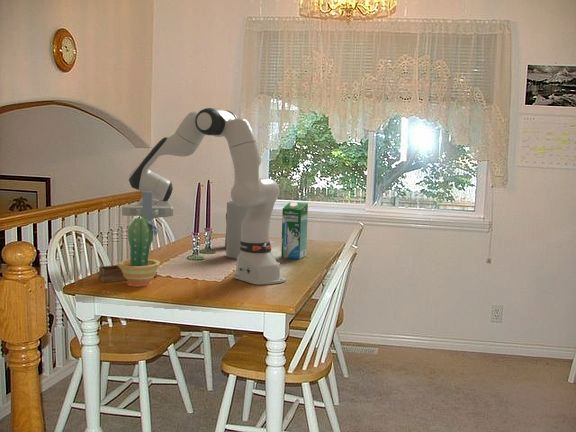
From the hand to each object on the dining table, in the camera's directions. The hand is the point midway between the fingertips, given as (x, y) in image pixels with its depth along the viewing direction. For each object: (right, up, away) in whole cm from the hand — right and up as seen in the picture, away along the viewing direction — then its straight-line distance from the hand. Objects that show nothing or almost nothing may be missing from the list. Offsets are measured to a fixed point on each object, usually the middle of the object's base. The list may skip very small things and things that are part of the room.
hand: (147, 213), depth 260 cm
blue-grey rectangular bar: (-1, -9, +2) cm, 10 cm away
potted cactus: (-1, -27, -11) cm, 29 cm away
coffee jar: (+29, -17, +68) cm, 76 cm away
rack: (-7, -25, -2) cm, 26 cm away
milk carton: (+58, -20, +48) cm, 78 cm away
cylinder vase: (+33, -20, +45) cm, 59 cm away
